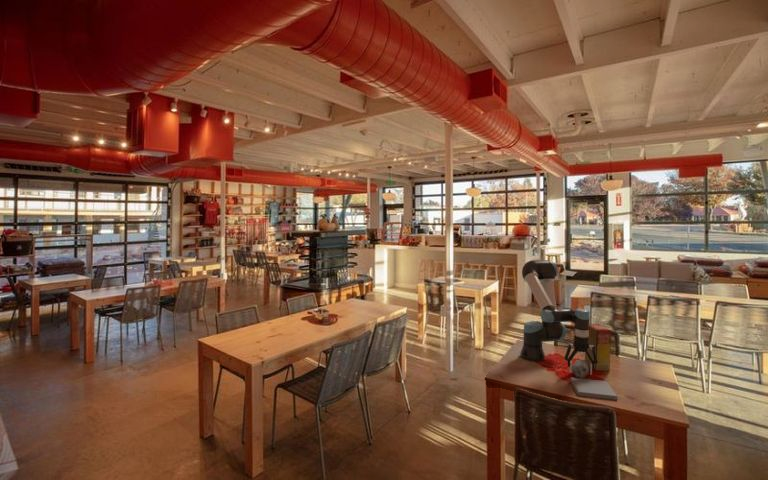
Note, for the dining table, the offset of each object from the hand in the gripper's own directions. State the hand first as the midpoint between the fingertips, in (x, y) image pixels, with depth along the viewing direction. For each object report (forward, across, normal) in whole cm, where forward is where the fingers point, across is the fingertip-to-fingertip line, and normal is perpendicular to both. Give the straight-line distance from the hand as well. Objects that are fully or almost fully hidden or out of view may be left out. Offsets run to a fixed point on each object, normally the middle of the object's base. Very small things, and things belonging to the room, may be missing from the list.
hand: (580, 373), depth 219 cm
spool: (+2, 0, 0) cm, 2 cm away
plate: (+1, +2, -19) cm, 19 cm away
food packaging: (+2, +13, +17) cm, 21 cm away
